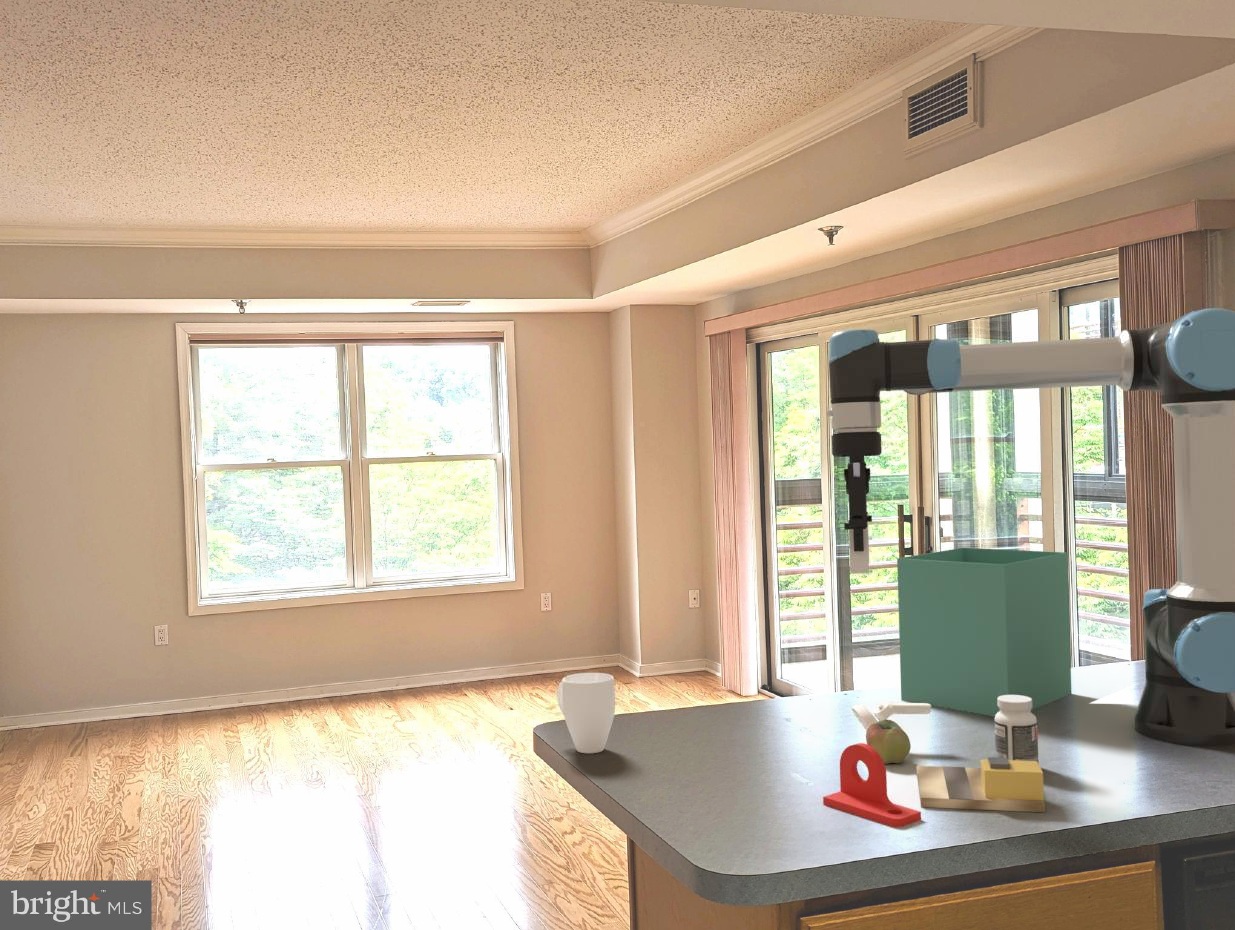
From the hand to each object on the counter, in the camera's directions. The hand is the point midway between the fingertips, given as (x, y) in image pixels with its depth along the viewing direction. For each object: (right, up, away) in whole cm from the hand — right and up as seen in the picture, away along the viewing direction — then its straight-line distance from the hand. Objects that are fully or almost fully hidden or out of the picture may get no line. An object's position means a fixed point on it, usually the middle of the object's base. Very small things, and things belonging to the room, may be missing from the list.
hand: (860, 568), depth 166 cm
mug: (-43, -29, +5) cm, 52 cm away
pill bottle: (+19, -27, -13) cm, 36 cm away
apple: (+2, -28, -7) cm, 29 cm away
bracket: (-5, -29, -29) cm, 41 cm away
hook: (+5, -28, -1) cm, 28 cm away
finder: (+13, -26, -28) cm, 40 cm away
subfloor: (+10, -28, -23) cm, 38 cm away
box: (+29, -27, +29) cm, 49 cm away
